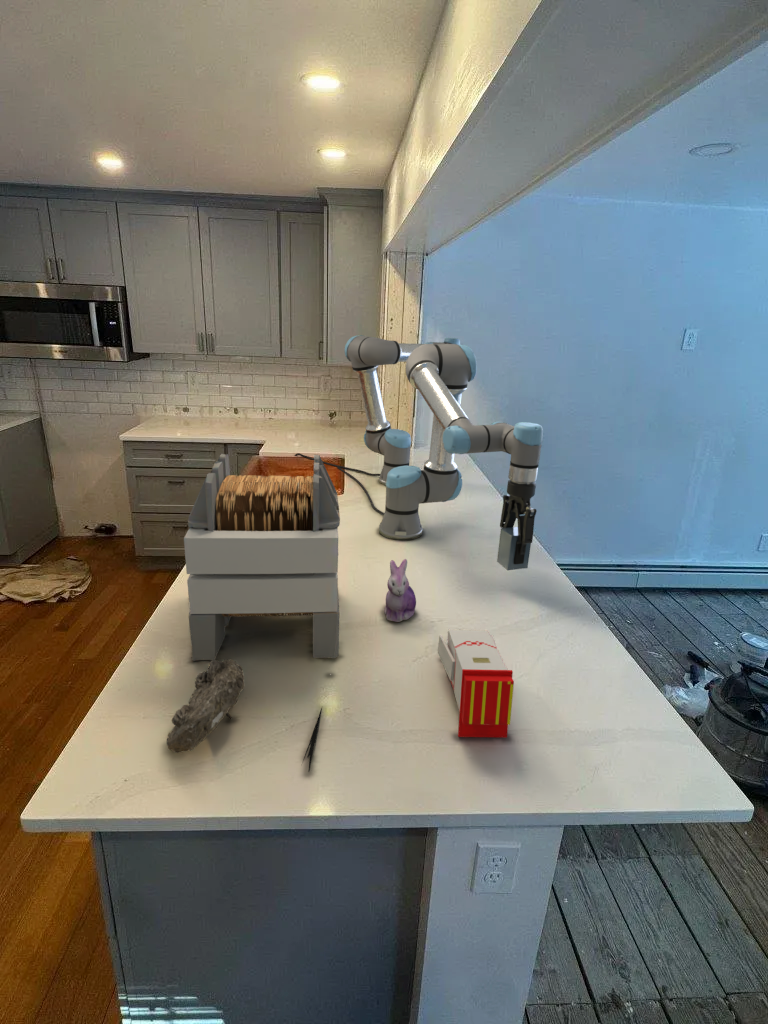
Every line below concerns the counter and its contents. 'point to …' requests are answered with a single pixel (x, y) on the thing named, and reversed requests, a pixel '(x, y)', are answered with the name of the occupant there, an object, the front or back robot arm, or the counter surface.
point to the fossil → (206, 705)
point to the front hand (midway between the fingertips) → (512, 558)
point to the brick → (510, 549)
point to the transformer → (263, 554)
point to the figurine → (399, 594)
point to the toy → (478, 682)
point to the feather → (313, 740)
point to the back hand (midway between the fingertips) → (446, 415)
